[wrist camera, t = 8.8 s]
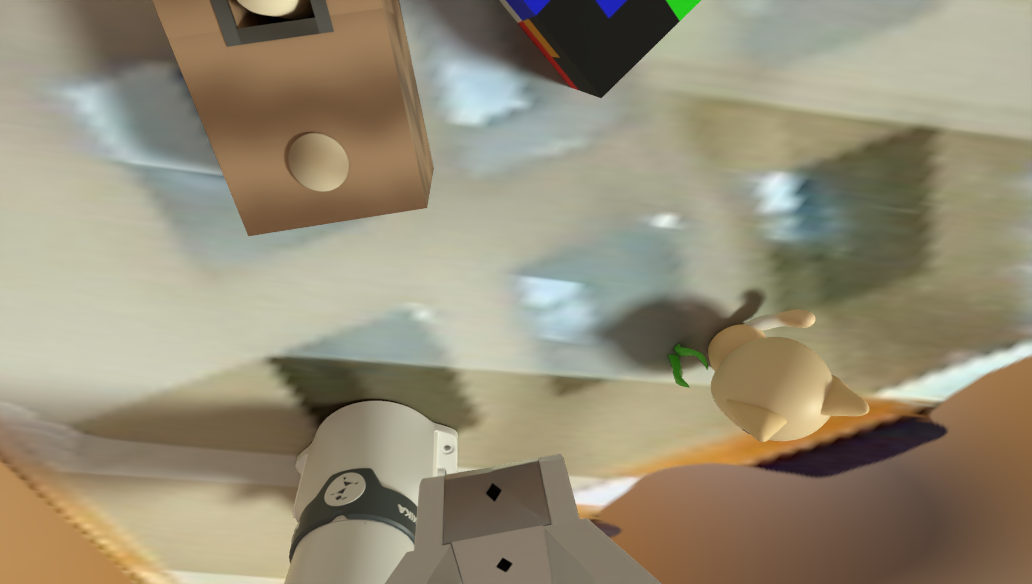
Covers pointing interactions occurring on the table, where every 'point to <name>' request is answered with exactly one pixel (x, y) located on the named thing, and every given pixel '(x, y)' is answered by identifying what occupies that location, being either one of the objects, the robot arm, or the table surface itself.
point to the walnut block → (306, 108)
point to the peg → (281, 8)
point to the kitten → (772, 380)
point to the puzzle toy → (596, 35)
